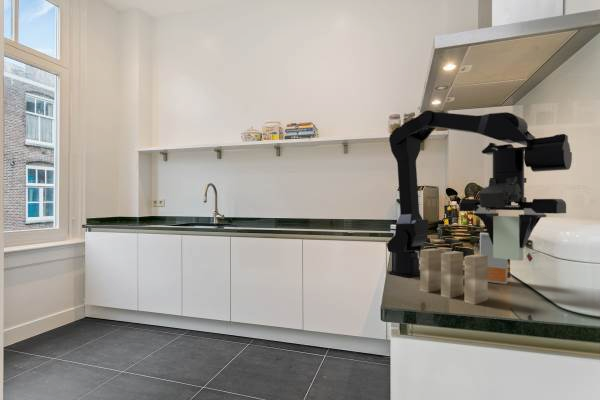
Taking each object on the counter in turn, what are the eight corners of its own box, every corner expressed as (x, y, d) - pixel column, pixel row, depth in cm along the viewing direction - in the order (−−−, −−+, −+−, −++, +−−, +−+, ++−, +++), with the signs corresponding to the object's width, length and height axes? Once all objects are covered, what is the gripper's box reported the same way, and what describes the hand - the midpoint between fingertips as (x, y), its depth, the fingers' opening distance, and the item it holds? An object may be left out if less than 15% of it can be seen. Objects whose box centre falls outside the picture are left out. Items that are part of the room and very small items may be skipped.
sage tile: (519, 260, 67) (519, 216, 67) (493, 257, 71) (493, 216, 72) (523, 259, 69) (523, 216, 69) (497, 256, 73) (497, 215, 73)
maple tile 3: (464, 301, 65) (464, 256, 65) (477, 297, 68) (477, 254, 68) (474, 304, 63) (474, 257, 63) (487, 300, 66) (487, 255, 66)
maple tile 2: (440, 295, 69) (441, 253, 69) (453, 292, 72) (454, 251, 72) (450, 298, 67) (450, 254, 67) (462, 294, 70) (463, 252, 70)
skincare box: (479, 281, 82) (479, 233, 82) (479, 278, 86) (479, 232, 86) (508, 284, 79) (508, 234, 79) (506, 281, 83) (507, 233, 83)
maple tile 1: (420, 290, 73) (420, 250, 73) (433, 287, 76) (433, 248, 76) (428, 292, 71) (428, 251, 72) (441, 289, 74) (441, 249, 74)
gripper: (445, 174, 73) (445, 244, 73) (545, 167, 58) (545, 255, 58) (471, 176, 80) (471, 241, 79) (567, 171, 64) (567, 250, 64)
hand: (507, 246), depth 70 cm, fingers closed on sage tile, 5 cm apart
